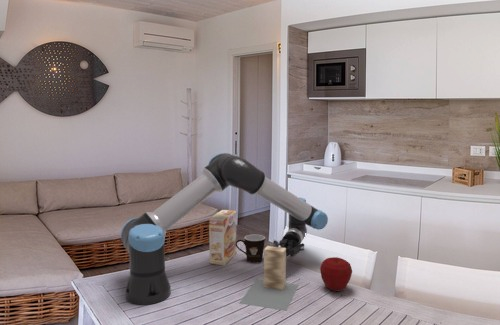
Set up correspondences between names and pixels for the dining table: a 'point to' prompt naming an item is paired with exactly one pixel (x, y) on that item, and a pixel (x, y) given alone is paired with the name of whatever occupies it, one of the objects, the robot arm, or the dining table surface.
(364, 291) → the dining table surface
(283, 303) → the mat
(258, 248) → the coffee mug
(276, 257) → the letter block
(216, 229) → the coffeecake box
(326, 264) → the apple
